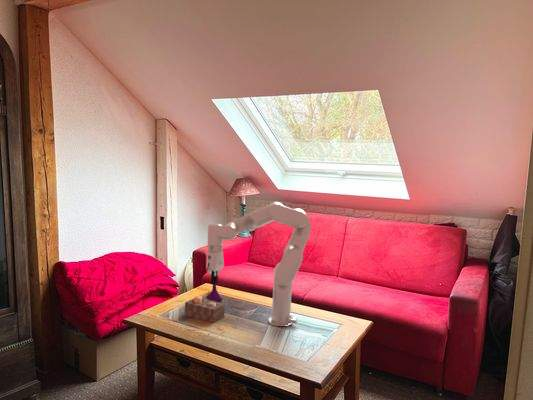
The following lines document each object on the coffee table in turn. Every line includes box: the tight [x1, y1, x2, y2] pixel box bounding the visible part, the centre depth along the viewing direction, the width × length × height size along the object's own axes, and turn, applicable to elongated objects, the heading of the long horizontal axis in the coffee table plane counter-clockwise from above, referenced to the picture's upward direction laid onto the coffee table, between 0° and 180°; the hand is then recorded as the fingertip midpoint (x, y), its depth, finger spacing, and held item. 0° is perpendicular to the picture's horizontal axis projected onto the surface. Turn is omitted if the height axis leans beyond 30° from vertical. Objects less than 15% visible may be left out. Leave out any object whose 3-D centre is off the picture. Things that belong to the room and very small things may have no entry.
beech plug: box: [208, 302, 216, 307], centre depth 209 cm, size 4×4×7 cm
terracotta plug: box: [193, 295, 203, 304], centre depth 212 cm, size 4×4×7 cm
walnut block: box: [184, 298, 226, 324], centre depth 211 cm, size 18×10×7 cm, turn 64°
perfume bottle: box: [205, 283, 223, 303], centre depth 229 cm, size 8×8×18 cm
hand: (214, 282), depth 207 cm, fingers closed
